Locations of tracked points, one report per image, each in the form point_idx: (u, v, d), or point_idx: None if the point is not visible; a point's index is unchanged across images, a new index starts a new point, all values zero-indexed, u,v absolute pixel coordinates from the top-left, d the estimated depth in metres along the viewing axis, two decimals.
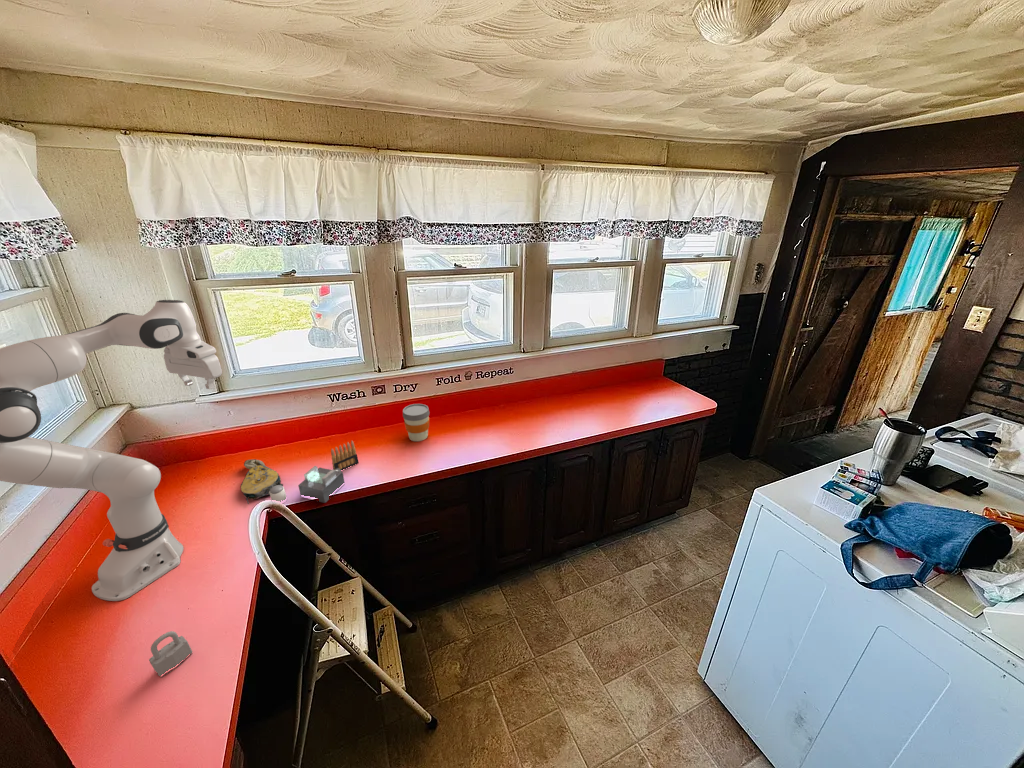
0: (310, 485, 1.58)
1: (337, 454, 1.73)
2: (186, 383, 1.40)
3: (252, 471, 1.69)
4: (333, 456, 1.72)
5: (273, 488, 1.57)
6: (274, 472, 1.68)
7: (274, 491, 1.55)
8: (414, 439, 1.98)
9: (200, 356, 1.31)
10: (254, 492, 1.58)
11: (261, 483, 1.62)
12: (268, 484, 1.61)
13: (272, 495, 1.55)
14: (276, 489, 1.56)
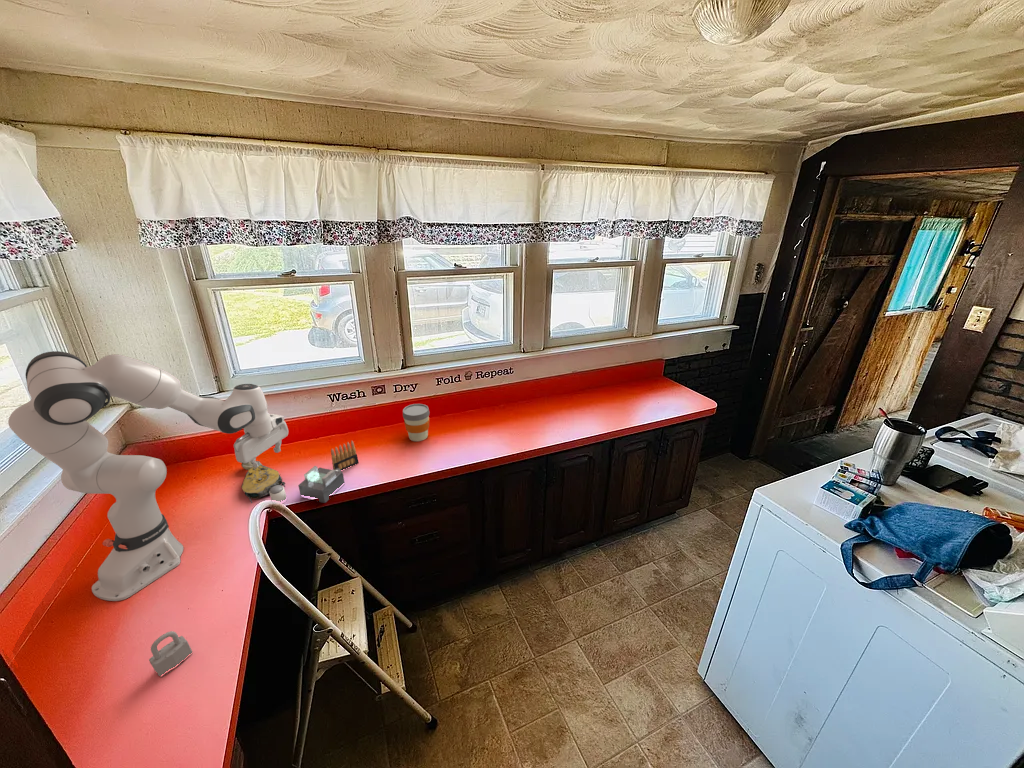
0: (310, 485, 1.58)
1: (337, 454, 1.73)
2: (259, 463, 1.46)
3: (251, 471, 1.69)
4: (333, 456, 1.72)
5: (273, 488, 1.57)
6: (275, 471, 1.69)
7: (274, 491, 1.55)
8: (414, 439, 1.98)
9: None
10: (257, 491, 1.59)
11: (263, 482, 1.62)
12: (270, 483, 1.62)
13: (272, 495, 1.55)
14: (276, 489, 1.56)
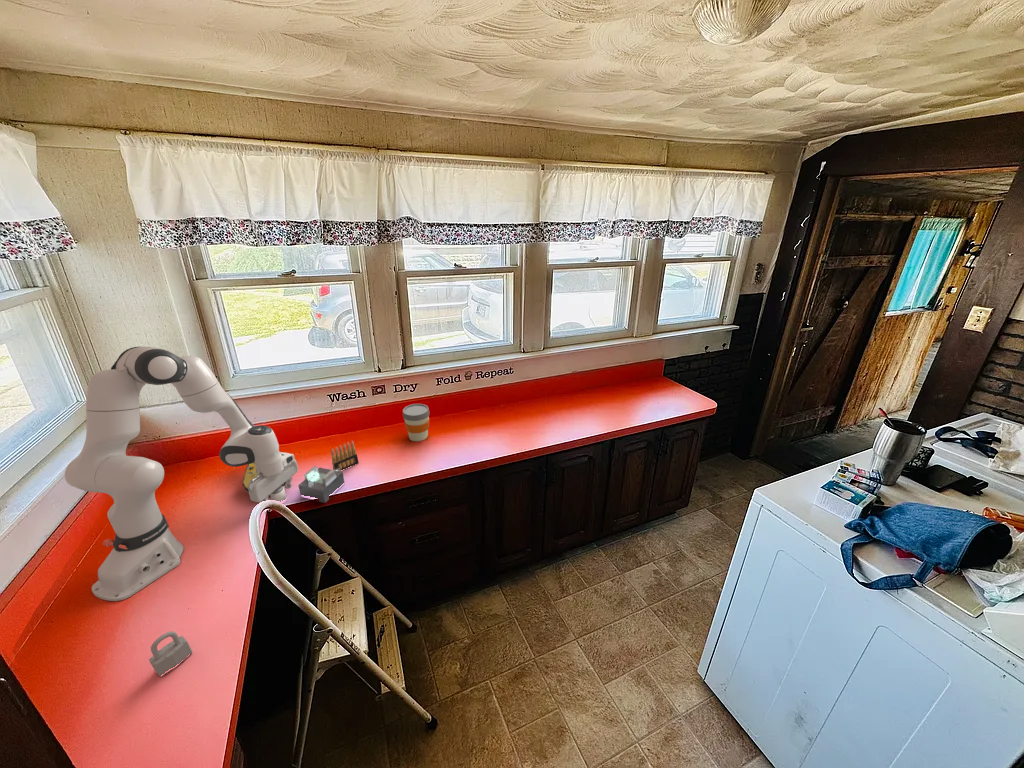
0: (310, 485, 1.58)
1: (337, 454, 1.73)
2: None
3: (252, 465, 1.68)
4: (333, 456, 1.72)
5: None
6: None
7: (274, 491, 1.55)
8: (414, 439, 1.98)
9: None
10: None
11: None
12: None
13: (272, 495, 1.55)
14: (276, 489, 1.56)
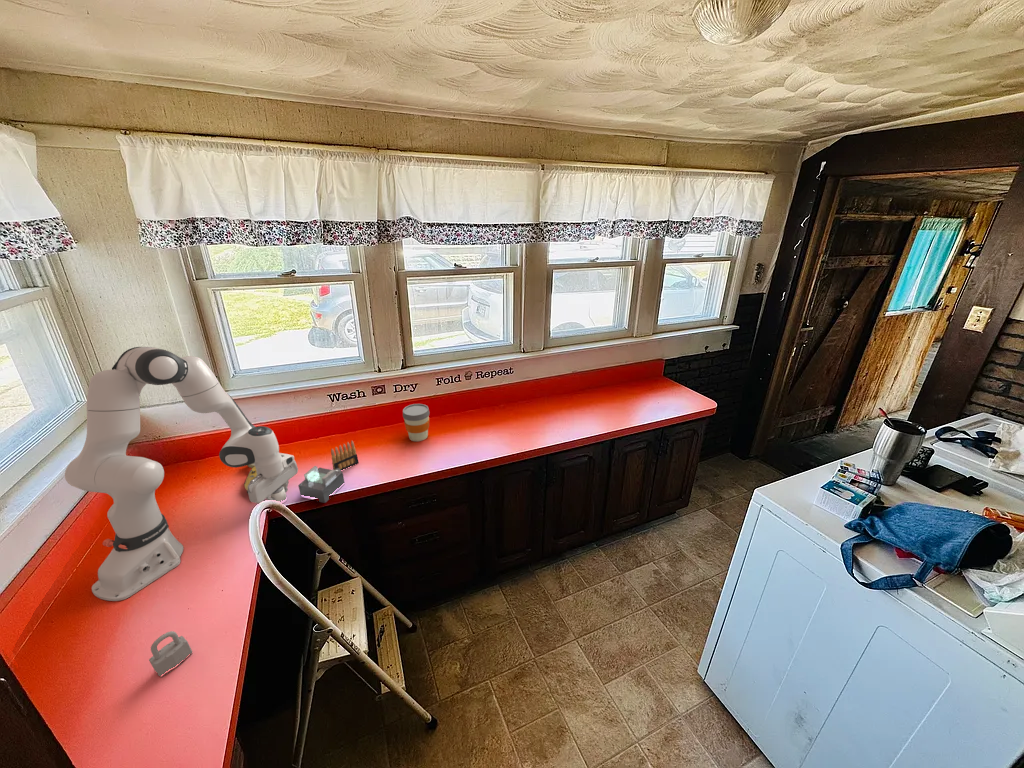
0: (310, 485, 1.58)
1: (337, 454, 1.73)
2: (274, 499, 1.55)
3: (255, 469, 1.70)
4: (333, 456, 1.72)
5: None
6: None
7: (274, 491, 1.55)
8: (414, 439, 1.98)
9: None
10: None
11: None
12: None
13: (272, 495, 1.55)
14: None
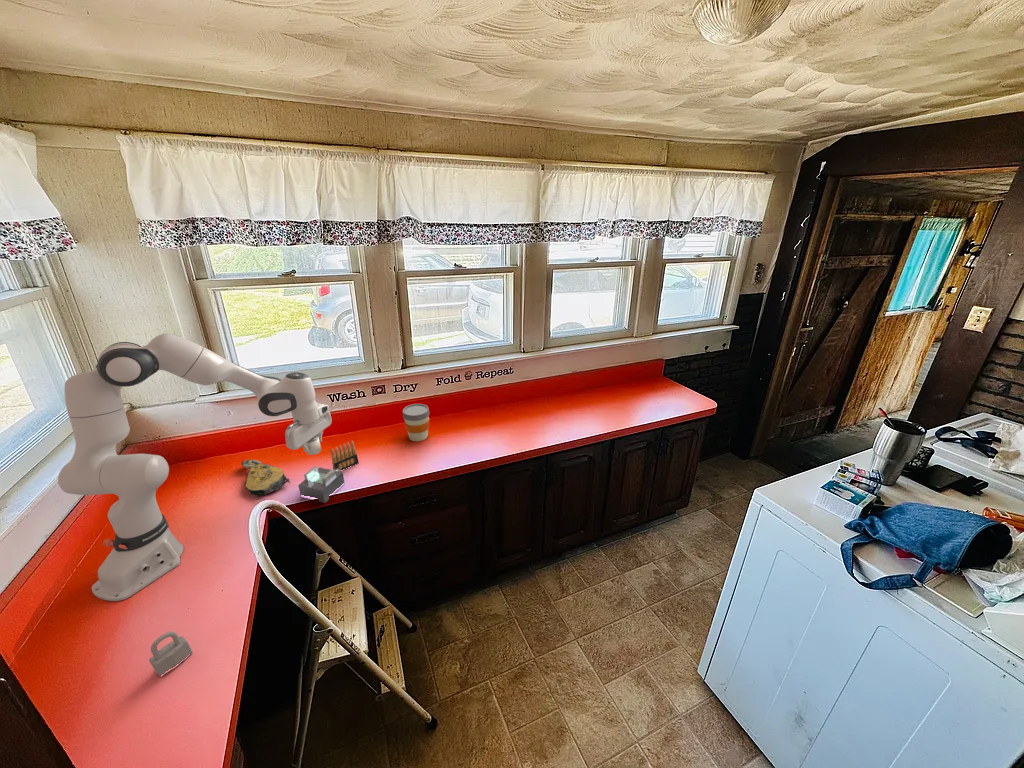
0: (310, 485, 1.58)
1: (337, 454, 1.73)
2: (309, 448, 1.53)
3: (253, 470, 1.70)
4: (333, 456, 1.72)
5: None
6: (277, 469, 1.70)
7: (309, 440, 1.53)
8: (414, 439, 1.98)
9: None
10: (262, 488, 1.60)
11: (267, 479, 1.64)
12: (275, 480, 1.64)
13: (307, 444, 1.53)
14: None
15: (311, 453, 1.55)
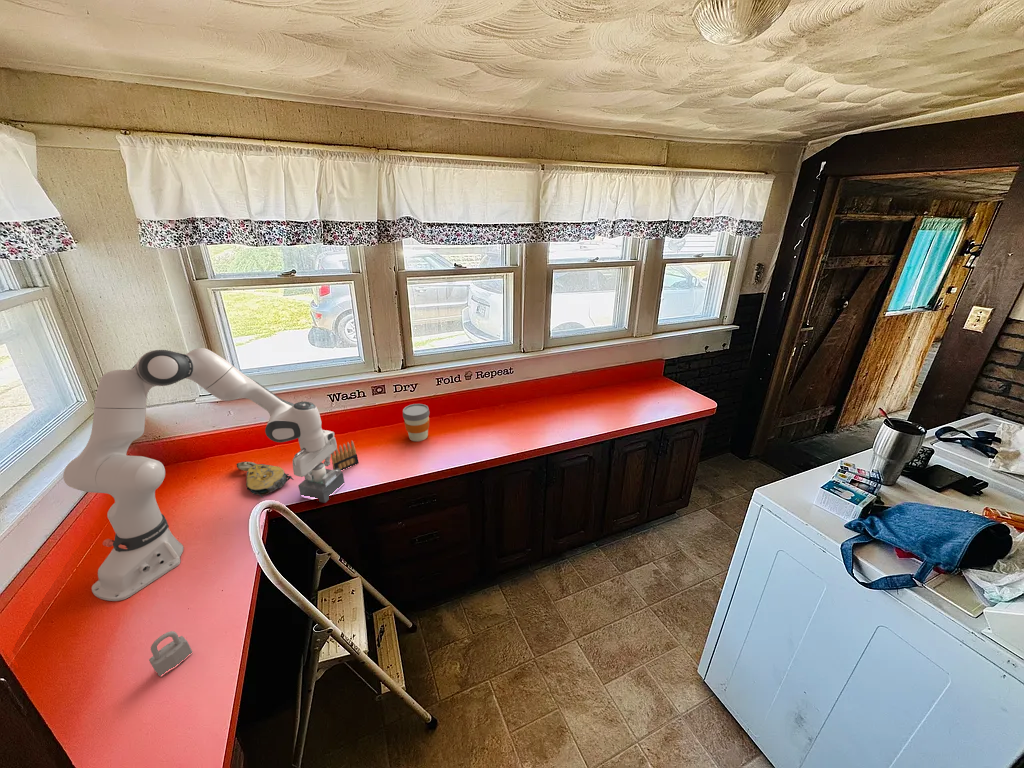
0: (310, 485, 1.58)
1: (337, 454, 1.73)
2: (312, 476, 1.56)
3: (252, 470, 1.70)
4: (333, 456, 1.72)
5: None
6: (277, 467, 1.71)
7: (316, 468, 1.58)
8: (414, 439, 1.98)
9: None
10: (266, 487, 1.61)
11: (270, 478, 1.65)
12: (278, 478, 1.65)
13: (314, 471, 1.58)
14: (317, 466, 1.59)
15: (317, 480, 1.60)
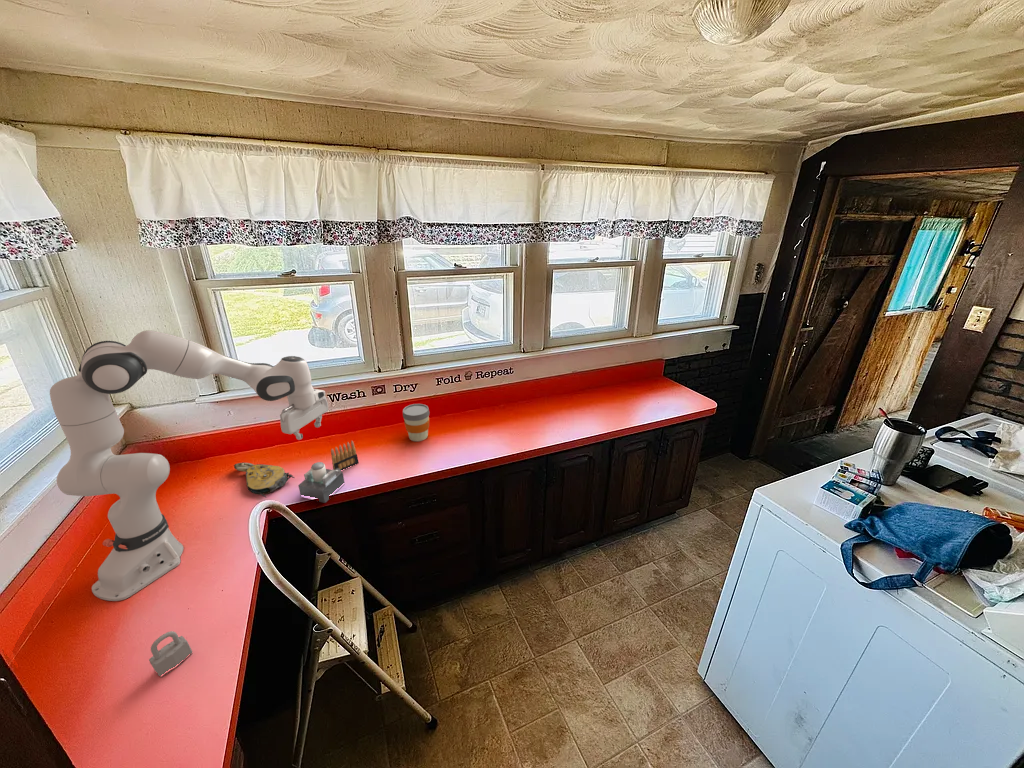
0: (310, 485, 1.58)
1: (337, 454, 1.73)
2: (302, 436, 1.50)
3: (251, 471, 1.69)
4: (333, 456, 1.72)
5: (314, 465, 1.60)
6: (277, 467, 1.72)
7: (316, 467, 1.58)
8: (414, 439, 1.98)
9: None
10: (268, 486, 1.62)
11: (270, 477, 1.65)
12: (279, 476, 1.66)
13: (314, 471, 1.58)
14: (317, 465, 1.59)
15: (317, 480, 1.60)
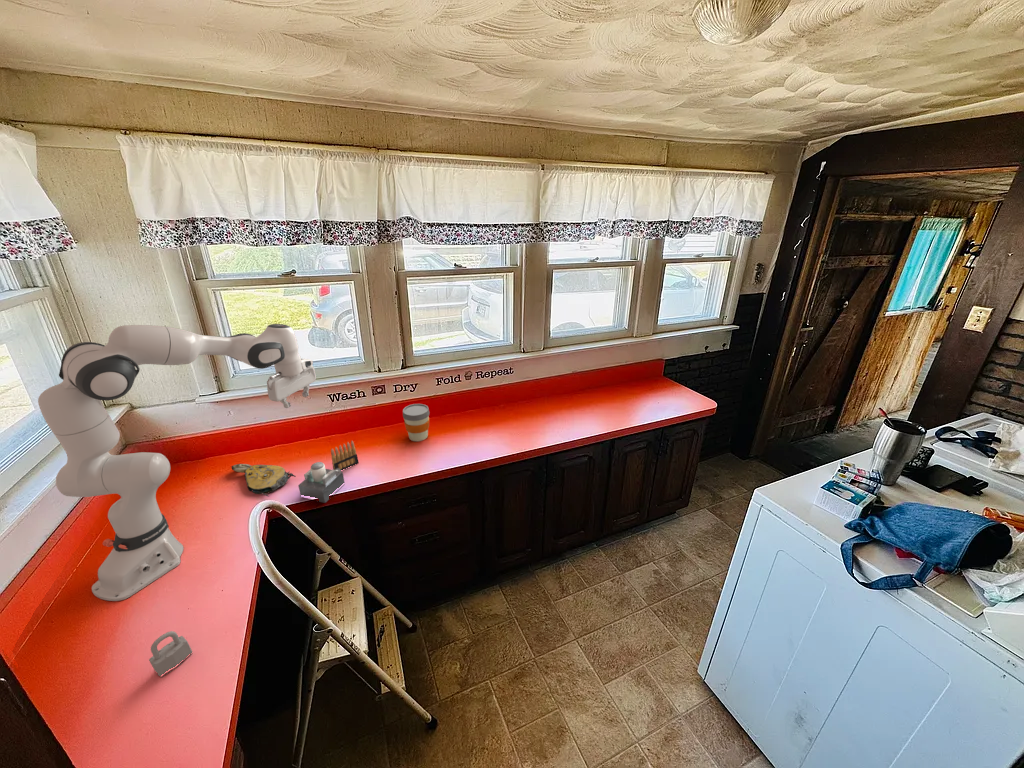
0: (310, 485, 1.58)
1: (337, 454, 1.73)
2: (289, 404, 1.50)
3: (250, 471, 1.69)
4: (333, 456, 1.72)
5: (314, 464, 1.60)
6: (276, 466, 1.72)
7: (315, 467, 1.58)
8: (414, 439, 1.98)
9: None
10: (270, 485, 1.62)
11: (271, 477, 1.66)
12: (280, 476, 1.66)
13: (313, 471, 1.58)
14: (317, 465, 1.60)
15: (317, 480, 1.60)
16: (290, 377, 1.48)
